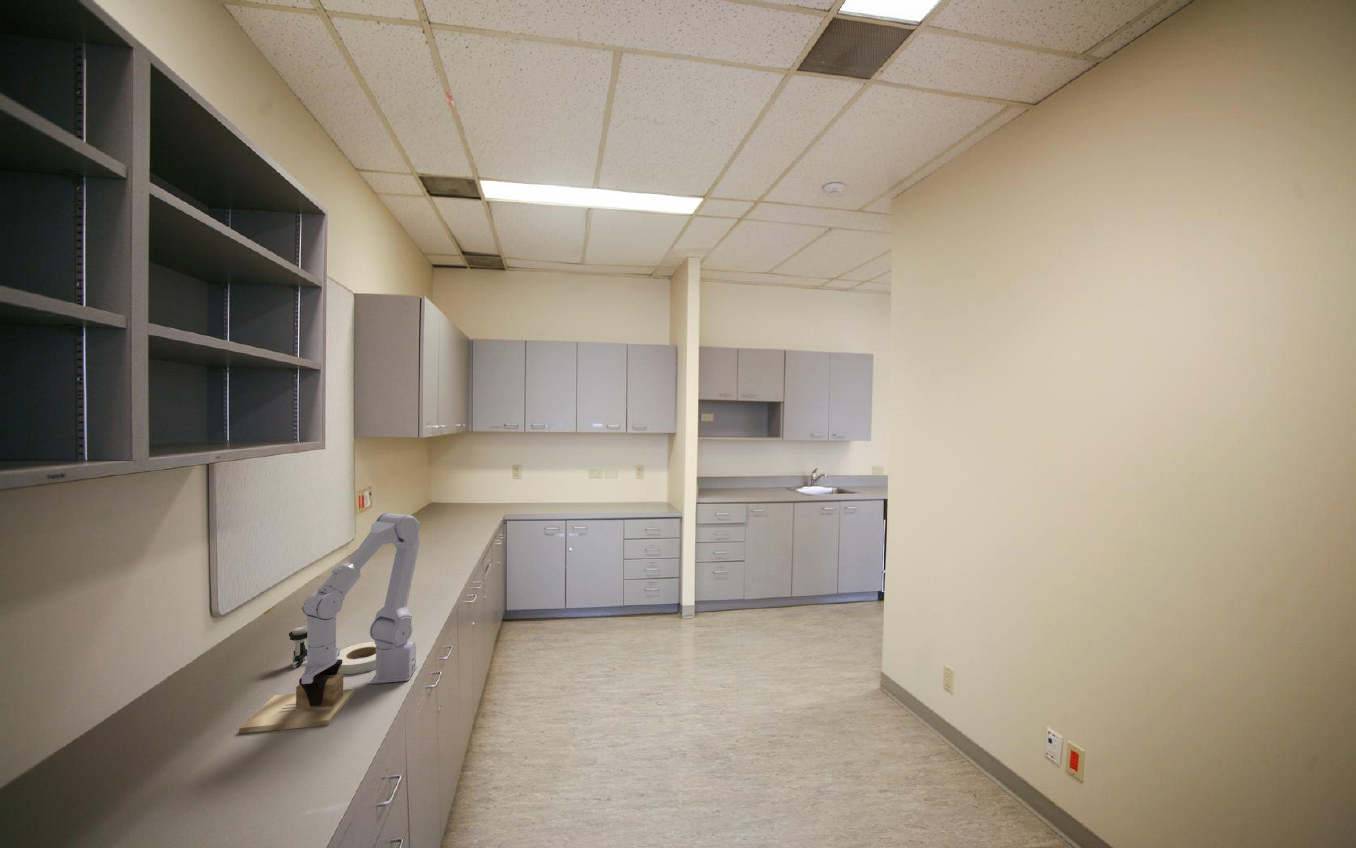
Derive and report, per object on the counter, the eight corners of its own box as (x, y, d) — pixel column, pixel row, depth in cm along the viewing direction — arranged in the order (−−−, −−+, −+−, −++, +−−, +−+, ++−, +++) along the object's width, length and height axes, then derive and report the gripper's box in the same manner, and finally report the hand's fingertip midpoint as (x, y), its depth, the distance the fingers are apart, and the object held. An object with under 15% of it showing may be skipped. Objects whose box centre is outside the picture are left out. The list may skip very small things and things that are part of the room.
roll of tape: (318, 668, 147) (318, 658, 147) (370, 646, 161) (370, 637, 161) (354, 680, 140) (354, 669, 140) (405, 656, 154) (405, 647, 154)
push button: (303, 668, 146) (303, 633, 146) (282, 670, 144) (282, 634, 144) (315, 658, 152) (315, 624, 152) (294, 659, 151) (294, 625, 151)
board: (354, 693, 133) (354, 688, 133) (328, 725, 119) (328, 719, 119) (274, 700, 129) (274, 695, 129) (239, 733, 116) (239, 728, 116)
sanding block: (343, 698, 128) (343, 674, 128) (333, 709, 123) (333, 684, 123) (307, 701, 127) (307, 676, 127) (295, 712, 122) (296, 687, 122)
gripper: (318, 631, 131) (317, 685, 131) (286, 657, 117) (286, 717, 117) (348, 629, 133) (348, 683, 133) (321, 655, 118) (321, 714, 119)
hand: (321, 699), depth 125 cm, fingers closed on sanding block, 5 cm apart
